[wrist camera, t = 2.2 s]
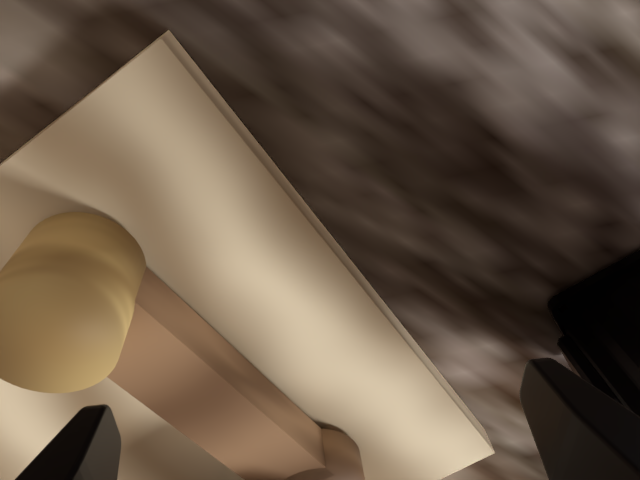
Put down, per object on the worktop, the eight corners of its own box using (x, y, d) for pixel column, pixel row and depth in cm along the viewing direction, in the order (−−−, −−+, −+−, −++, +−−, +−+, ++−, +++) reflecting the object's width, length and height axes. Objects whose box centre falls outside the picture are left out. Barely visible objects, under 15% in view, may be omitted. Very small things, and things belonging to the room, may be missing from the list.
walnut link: (377, 462, 25) (395, 546, 22) (302, 500, 26) (309, 586, 23) (88, 186, 16) (43, 253, 13) (-8, 257, 17) (-73, 337, 14)
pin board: (168, 29, 16) (115, 88, 10) (483, 428, 27) (547, 567, 21) (-282, 388, 21) (-495, 568, 15) (141, 599, 33) (114, 750, 27)
